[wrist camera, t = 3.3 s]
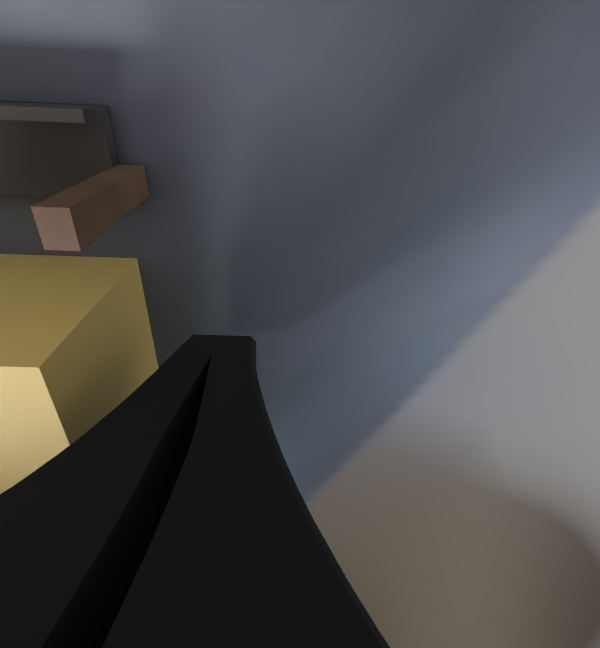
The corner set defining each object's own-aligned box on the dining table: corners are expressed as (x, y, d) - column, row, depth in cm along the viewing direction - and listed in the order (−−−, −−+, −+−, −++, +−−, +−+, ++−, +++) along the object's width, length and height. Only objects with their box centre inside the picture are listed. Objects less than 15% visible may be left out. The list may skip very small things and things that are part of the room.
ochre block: (164, 391, 11) (103, 531, 8) (18, 387, 11) (-109, 527, 7) (138, 256, 9) (38, 367, 5) (-43, 250, 9) (-259, 359, 5)
